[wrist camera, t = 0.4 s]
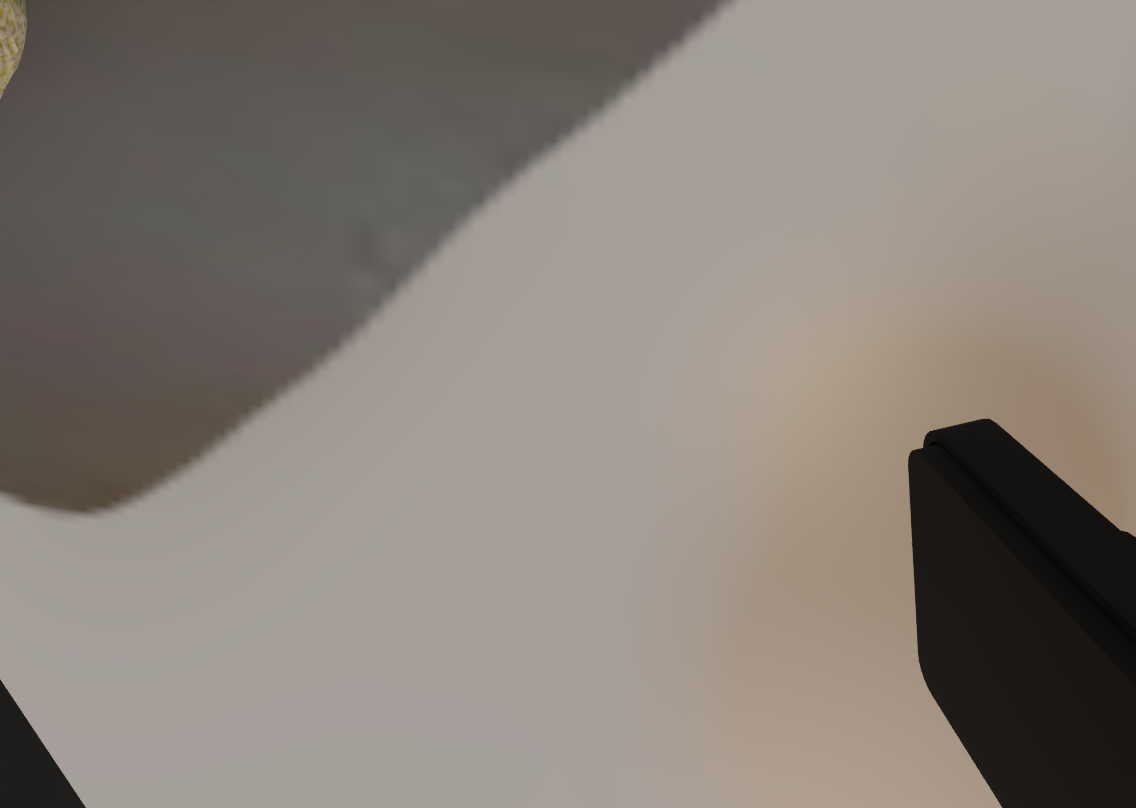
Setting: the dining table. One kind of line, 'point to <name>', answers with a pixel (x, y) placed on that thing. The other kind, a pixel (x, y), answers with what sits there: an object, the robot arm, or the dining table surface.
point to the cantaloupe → (11, 38)
